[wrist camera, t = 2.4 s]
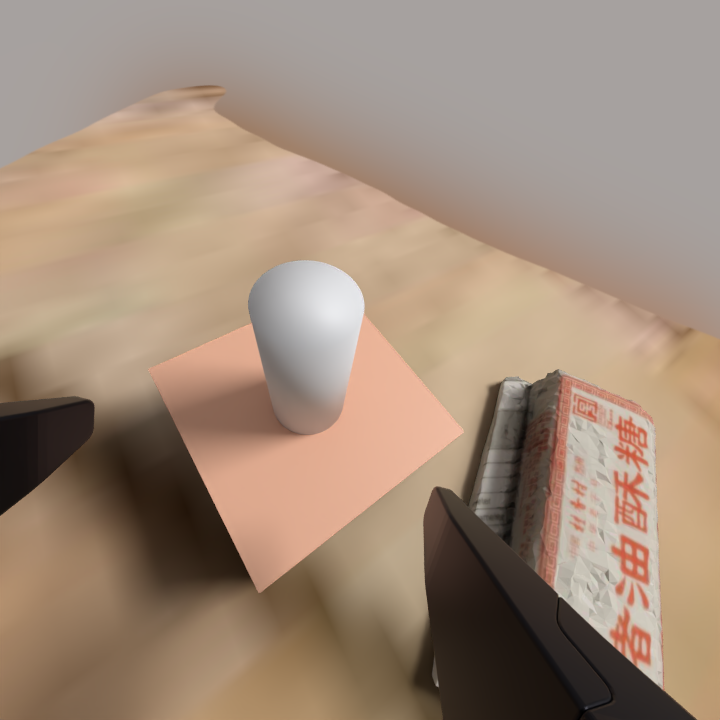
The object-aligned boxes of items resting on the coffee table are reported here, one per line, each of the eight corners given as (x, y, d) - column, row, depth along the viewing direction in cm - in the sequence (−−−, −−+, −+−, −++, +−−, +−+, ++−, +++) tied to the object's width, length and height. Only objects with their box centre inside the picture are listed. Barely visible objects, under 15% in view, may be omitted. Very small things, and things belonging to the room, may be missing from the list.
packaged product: (532, 345, 21) (691, 412, 20) (495, 379, 25) (626, 436, 24) (461, 718, 12) (746, 874, 11) (422, 677, 16) (627, 788, 15)
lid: (447, 445, 18) (560, 354, 10) (266, 588, 14) (204, 632, 6) (336, 308, 21) (351, 159, 13) (165, 389, 17) (42, 247, 9)
